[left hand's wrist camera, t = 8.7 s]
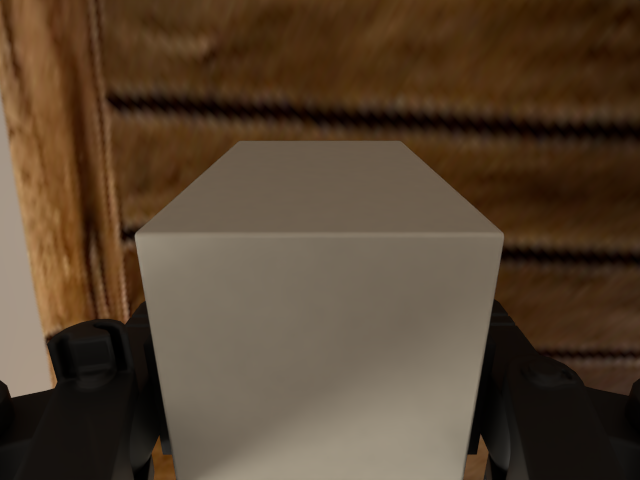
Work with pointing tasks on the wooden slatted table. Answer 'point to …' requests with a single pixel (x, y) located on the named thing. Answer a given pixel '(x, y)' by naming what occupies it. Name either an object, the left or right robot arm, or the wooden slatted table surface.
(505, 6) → the wooden slatted table surface
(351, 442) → the plank
